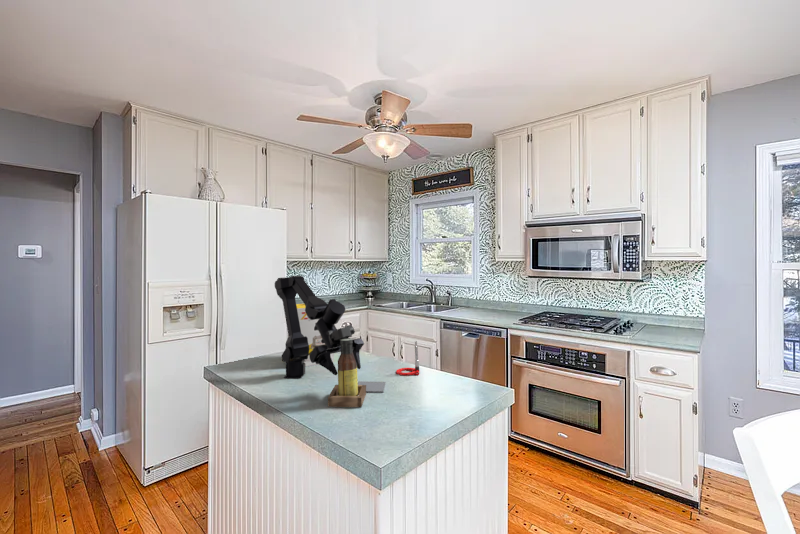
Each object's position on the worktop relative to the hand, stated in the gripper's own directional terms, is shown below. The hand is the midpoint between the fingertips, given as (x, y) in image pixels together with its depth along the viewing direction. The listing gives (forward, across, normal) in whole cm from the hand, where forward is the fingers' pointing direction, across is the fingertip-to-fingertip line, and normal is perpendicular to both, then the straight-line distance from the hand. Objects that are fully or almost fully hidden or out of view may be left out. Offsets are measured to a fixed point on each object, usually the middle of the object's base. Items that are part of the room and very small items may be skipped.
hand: (348, 371), depth 120 cm
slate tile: (+4, +13, +10) cm, 16 cm away
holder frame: (+6, 0, +7) cm, 9 cm away
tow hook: (+2, +35, +12) cm, 37 cm away
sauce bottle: (+6, 0, +7) cm, 10 cm away
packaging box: (-29, +16, +42) cm, 54 cm away
